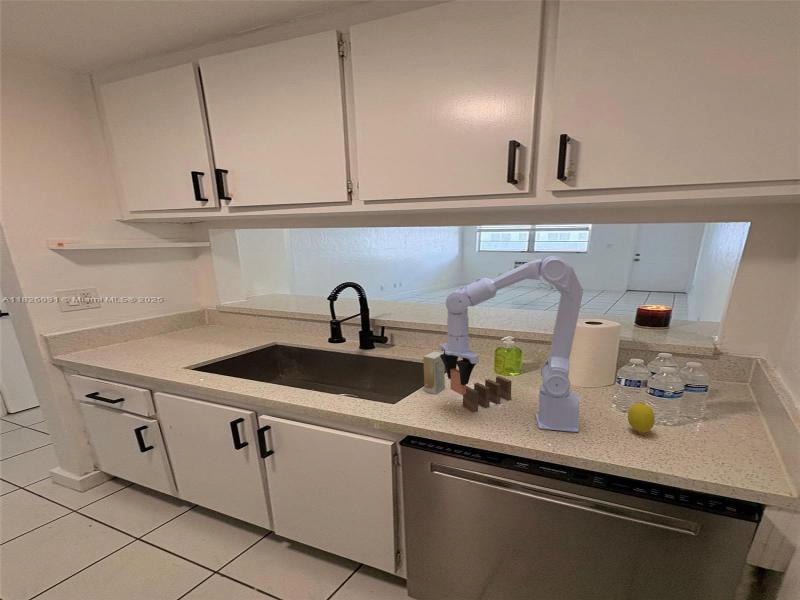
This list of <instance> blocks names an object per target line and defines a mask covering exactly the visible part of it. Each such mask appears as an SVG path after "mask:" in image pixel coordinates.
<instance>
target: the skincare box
mask: <svg viewBox="0 0 800 600" xmlns="http://www.w3.org/2000/svg"><path fill="white" fill-rule="evenodd" d="M441 354H444V352H440V351H432V352H430V353H426V354H425V355H423V380H424V381H423V383H424V384H423V385H424V386H423V387H424V388H423V389H424V392H425V393H429V394H433V395H436V394H438V393H440V392H441V391H443V390H444V389H445V388H446V380H445V377H446V376H445V375H446V374H445V365H444V363H443V361H442V359H441V357H440V355H441Z"/></svg>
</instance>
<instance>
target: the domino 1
mask: <svg viewBox="0 0 800 600" xmlns="http://www.w3.org/2000/svg"><path fill="white" fill-rule="evenodd" d="M450 375H451V379H449V380H450V384H449V385H450V390H452V392H453V391H454V392H455V393H456V394H459V395H461V396H463V395H464V394H466V386H467V384H466V385H461V382H460V372H459V369H458V368H456V369H455V368H453V369H450Z"/></svg>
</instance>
